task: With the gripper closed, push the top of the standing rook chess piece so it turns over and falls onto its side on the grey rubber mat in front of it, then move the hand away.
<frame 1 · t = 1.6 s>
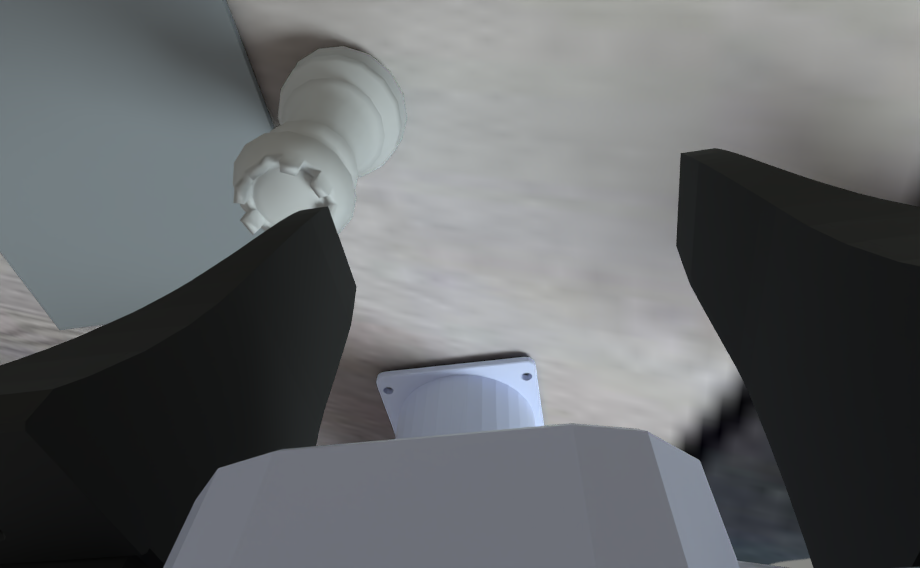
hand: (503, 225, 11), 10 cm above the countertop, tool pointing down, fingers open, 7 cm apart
rook chess piece: (349, 105, 21), on the countertop
mat: (104, 149, 22), on the countertop
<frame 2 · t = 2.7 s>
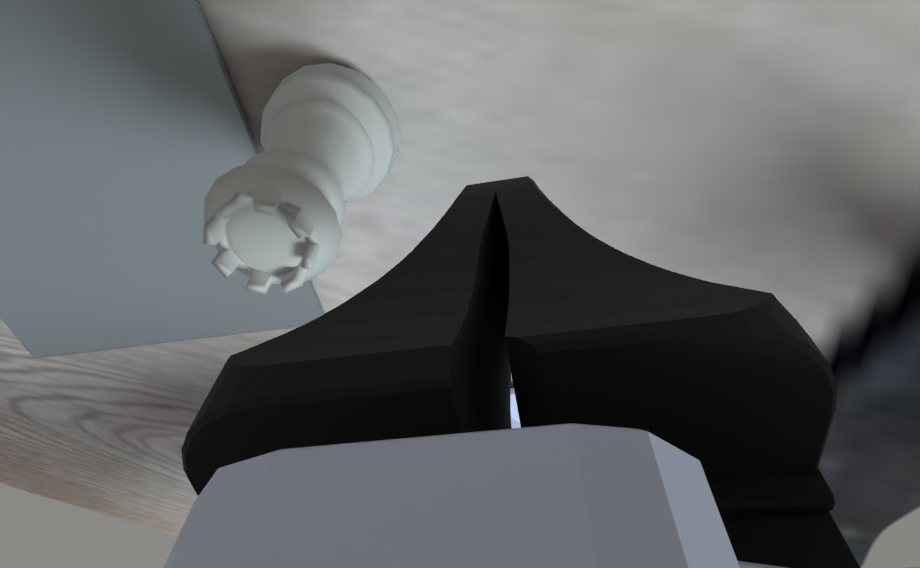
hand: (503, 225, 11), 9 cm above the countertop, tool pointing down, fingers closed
rook chess piece: (338, 125, 19), on the countertop
mat: (76, 171, 20), on the countertop
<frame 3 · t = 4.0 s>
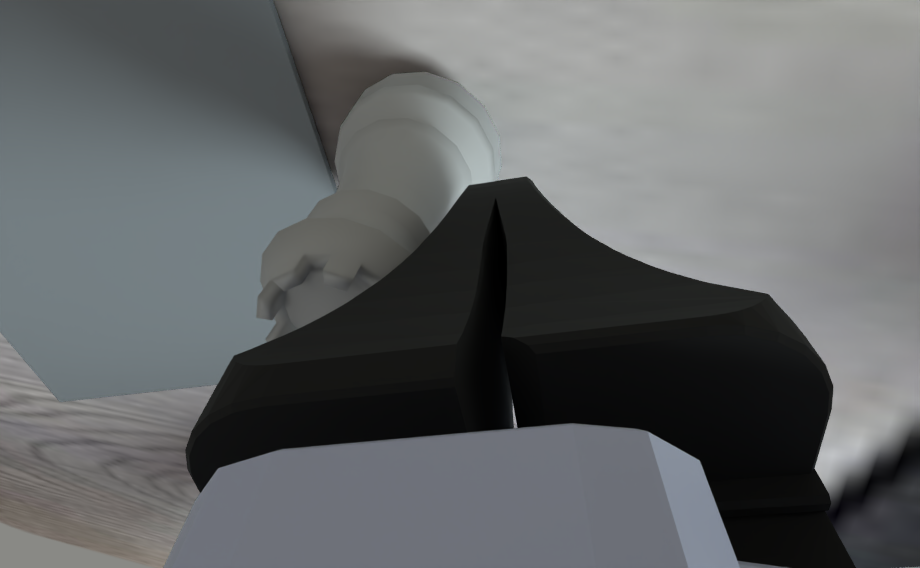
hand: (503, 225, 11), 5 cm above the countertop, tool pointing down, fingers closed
rook chess piece: (426, 144, 16), on the countertop
mat: (114, 196, 17), on the countertop
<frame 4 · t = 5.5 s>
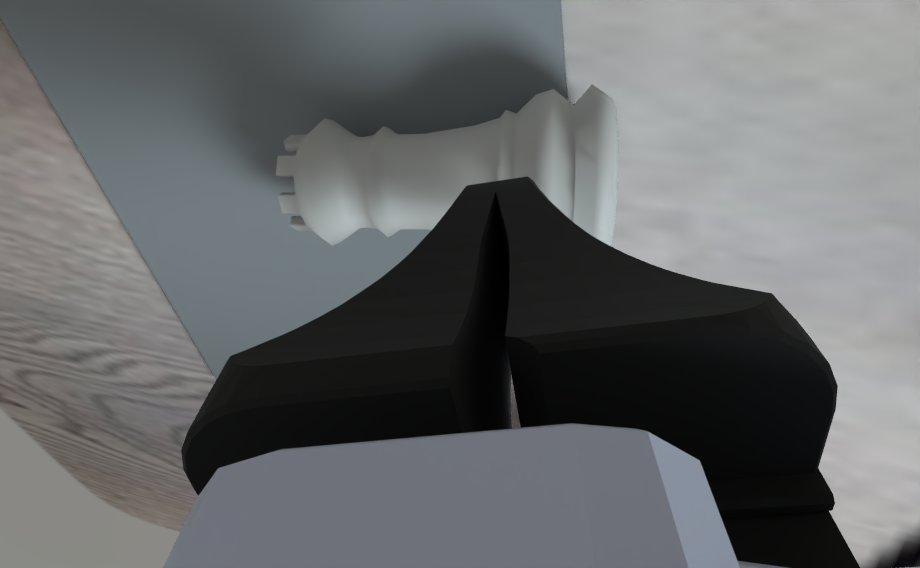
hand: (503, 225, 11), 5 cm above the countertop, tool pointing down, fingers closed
rook chess piece: (616, 180, 14), point 3 cm above the countertop, touching mat
mat: (327, 159, 16), on the countertop
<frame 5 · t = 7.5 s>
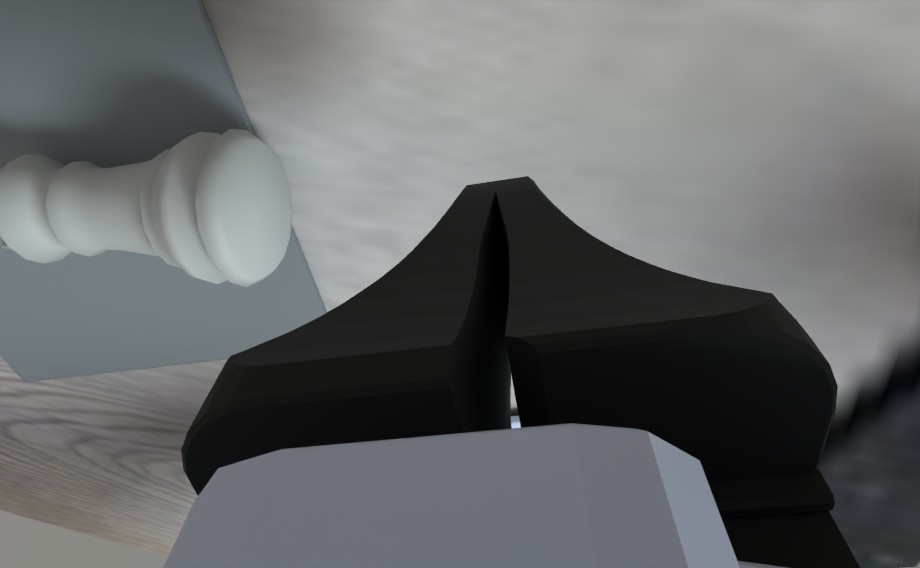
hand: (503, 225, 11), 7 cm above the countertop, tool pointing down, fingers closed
rook chess piece: (269, 209, 16), point 3 cm above the countertop, touching mat
mat: (65, 185, 18), on the countertop
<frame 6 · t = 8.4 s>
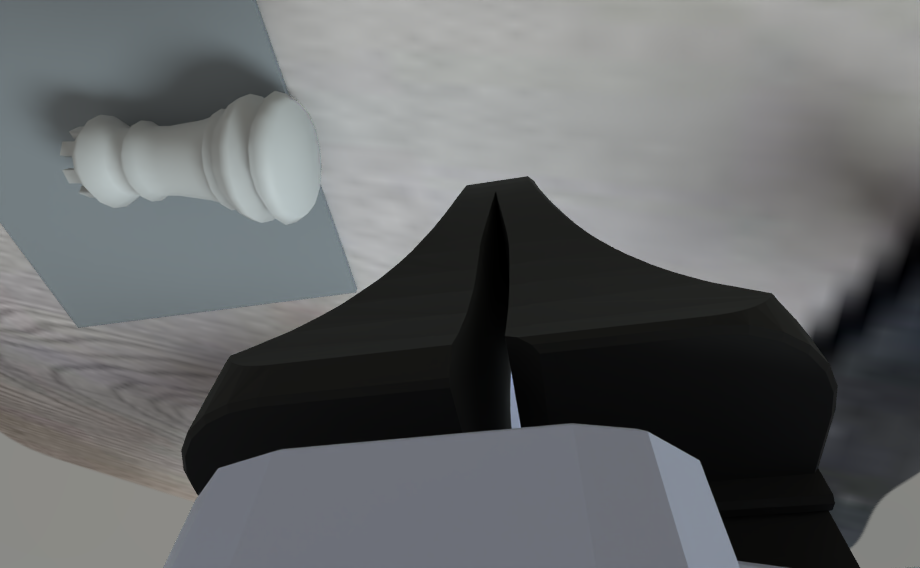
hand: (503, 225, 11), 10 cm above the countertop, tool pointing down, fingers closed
rook chess piece: (305, 159, 19), point 3 cm above the countertop, touching mat
mat: (127, 145, 22), on the countertop
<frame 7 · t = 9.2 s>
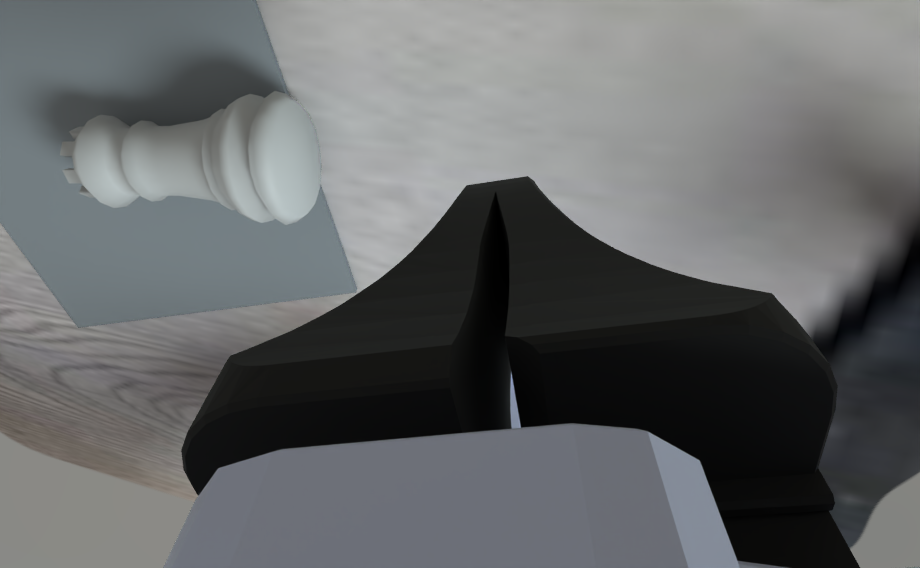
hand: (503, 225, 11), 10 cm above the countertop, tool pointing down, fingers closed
rook chess piece: (305, 159, 19), point 3 cm above the countertop, touching mat
mat: (127, 145, 22), on the countertop
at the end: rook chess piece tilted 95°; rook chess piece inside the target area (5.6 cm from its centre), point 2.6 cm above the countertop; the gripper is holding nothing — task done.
